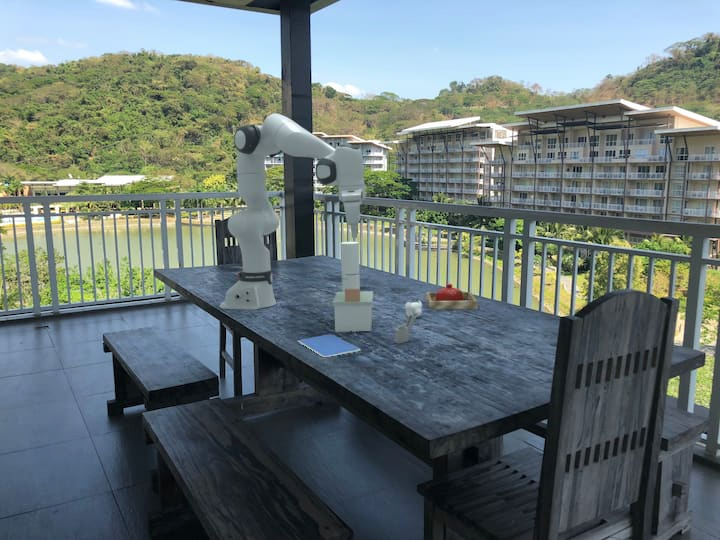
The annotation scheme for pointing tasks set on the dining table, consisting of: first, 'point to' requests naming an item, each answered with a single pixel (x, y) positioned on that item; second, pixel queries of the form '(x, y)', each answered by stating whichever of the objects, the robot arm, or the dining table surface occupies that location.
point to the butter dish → (449, 294)
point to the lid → (353, 298)
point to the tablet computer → (328, 345)
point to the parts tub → (353, 318)
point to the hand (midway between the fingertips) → (355, 236)
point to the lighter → (404, 330)
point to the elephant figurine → (413, 308)
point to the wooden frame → (452, 302)
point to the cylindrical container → (350, 265)
